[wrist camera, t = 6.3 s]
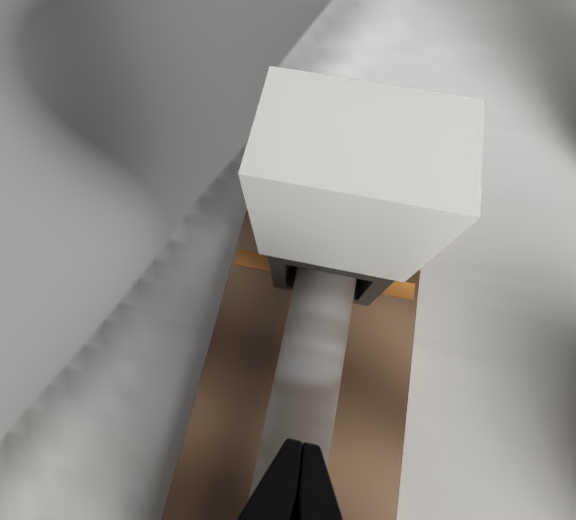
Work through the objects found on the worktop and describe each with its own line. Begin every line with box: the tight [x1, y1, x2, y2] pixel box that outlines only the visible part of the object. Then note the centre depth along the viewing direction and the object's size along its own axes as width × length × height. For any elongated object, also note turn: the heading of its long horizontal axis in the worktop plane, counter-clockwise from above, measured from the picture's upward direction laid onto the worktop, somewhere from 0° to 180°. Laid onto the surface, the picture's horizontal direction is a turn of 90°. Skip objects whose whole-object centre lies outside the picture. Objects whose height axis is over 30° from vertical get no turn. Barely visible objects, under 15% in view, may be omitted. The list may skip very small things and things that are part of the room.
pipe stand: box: [162, 210, 420, 520], centre depth 14 cm, size 20×9×6 cm, turn 168°
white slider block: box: [238, 66, 485, 306], centre depth 12 cm, size 3×5×9 cm, turn 78°
